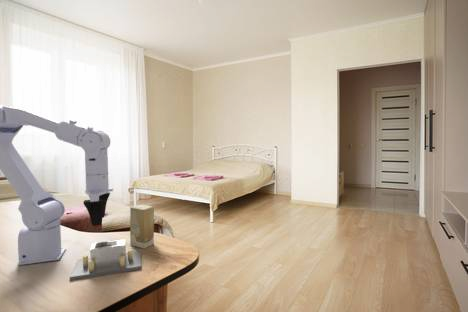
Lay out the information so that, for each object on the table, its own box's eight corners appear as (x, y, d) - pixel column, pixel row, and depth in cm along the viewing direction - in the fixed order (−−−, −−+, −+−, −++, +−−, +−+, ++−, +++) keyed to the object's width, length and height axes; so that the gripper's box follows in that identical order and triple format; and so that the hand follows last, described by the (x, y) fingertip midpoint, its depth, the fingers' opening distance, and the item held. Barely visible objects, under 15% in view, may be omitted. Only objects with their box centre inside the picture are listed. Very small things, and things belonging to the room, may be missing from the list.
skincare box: (129, 245, 85) (128, 206, 85) (140, 240, 89) (139, 203, 88) (144, 249, 82) (143, 209, 82) (155, 244, 86) (154, 206, 85)
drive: (90, 269, 68) (90, 249, 68) (93, 261, 72) (92, 242, 72) (125, 263, 71) (124, 244, 70) (125, 256, 75) (125, 238, 75)
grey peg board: (69, 280, 64) (69, 266, 64) (77, 262, 73) (77, 250, 73) (141, 269, 70) (140, 256, 69) (140, 253, 79) (140, 242, 79)
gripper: (110, 176, 71) (112, 227, 72) (114, 170, 85) (115, 213, 85) (80, 177, 69) (81, 230, 69) (88, 171, 82) (90, 215, 83)
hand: (98, 221), depth 77 cm, fingers open, 7 cm apart
